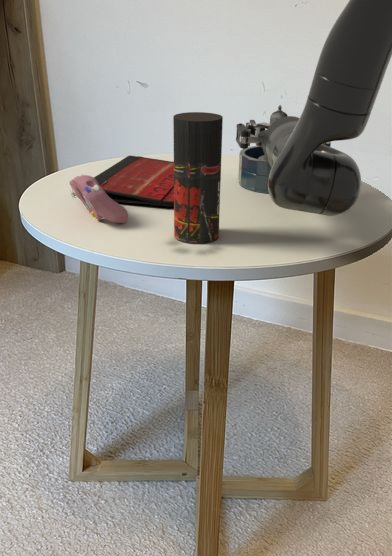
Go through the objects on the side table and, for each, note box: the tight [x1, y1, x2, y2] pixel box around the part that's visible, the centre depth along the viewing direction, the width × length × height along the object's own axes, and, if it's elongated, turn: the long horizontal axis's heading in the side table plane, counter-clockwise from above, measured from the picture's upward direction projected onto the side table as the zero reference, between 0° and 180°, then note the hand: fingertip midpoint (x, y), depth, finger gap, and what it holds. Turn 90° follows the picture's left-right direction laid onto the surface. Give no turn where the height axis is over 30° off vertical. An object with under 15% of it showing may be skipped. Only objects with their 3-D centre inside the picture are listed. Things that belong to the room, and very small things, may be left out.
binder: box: [93, 155, 174, 208], centre depth 98 cm, size 16×2×21 cm
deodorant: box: [172, 111, 224, 245], centre depth 76 cm, size 6×6×15 cm
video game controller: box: [69, 173, 129, 224], centre depth 84 cm, size 10×5×7 cm, turn 27°
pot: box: [237, 145, 271, 195], centre depth 100 cm, size 12×12×5 cm
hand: (277, 126), depth 98 cm, fingers open, 8 cm apart
